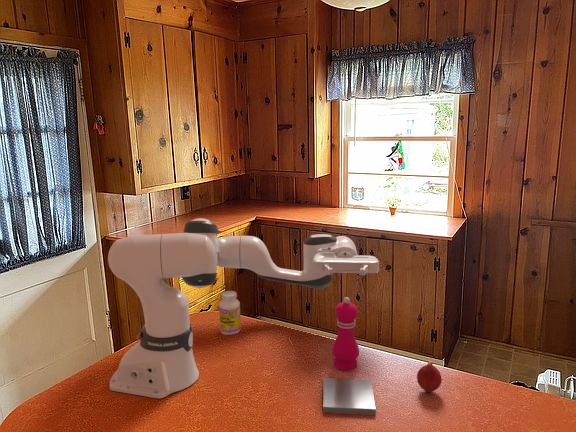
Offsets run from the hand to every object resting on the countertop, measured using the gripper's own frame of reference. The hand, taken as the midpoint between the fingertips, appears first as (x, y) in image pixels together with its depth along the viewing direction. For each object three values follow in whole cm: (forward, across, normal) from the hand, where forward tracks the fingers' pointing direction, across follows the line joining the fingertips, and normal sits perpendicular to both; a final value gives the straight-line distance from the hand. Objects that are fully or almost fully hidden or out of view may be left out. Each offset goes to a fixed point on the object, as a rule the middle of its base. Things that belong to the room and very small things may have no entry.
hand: (346, 272), depth 134 cm
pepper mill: (+13, +1, -23) cm, 26 cm away
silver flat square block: (+28, +1, -23) cm, 36 cm away
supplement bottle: (-6, +37, -22) cm, 43 cm away
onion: (+24, -19, -23) cm, 38 cm away
